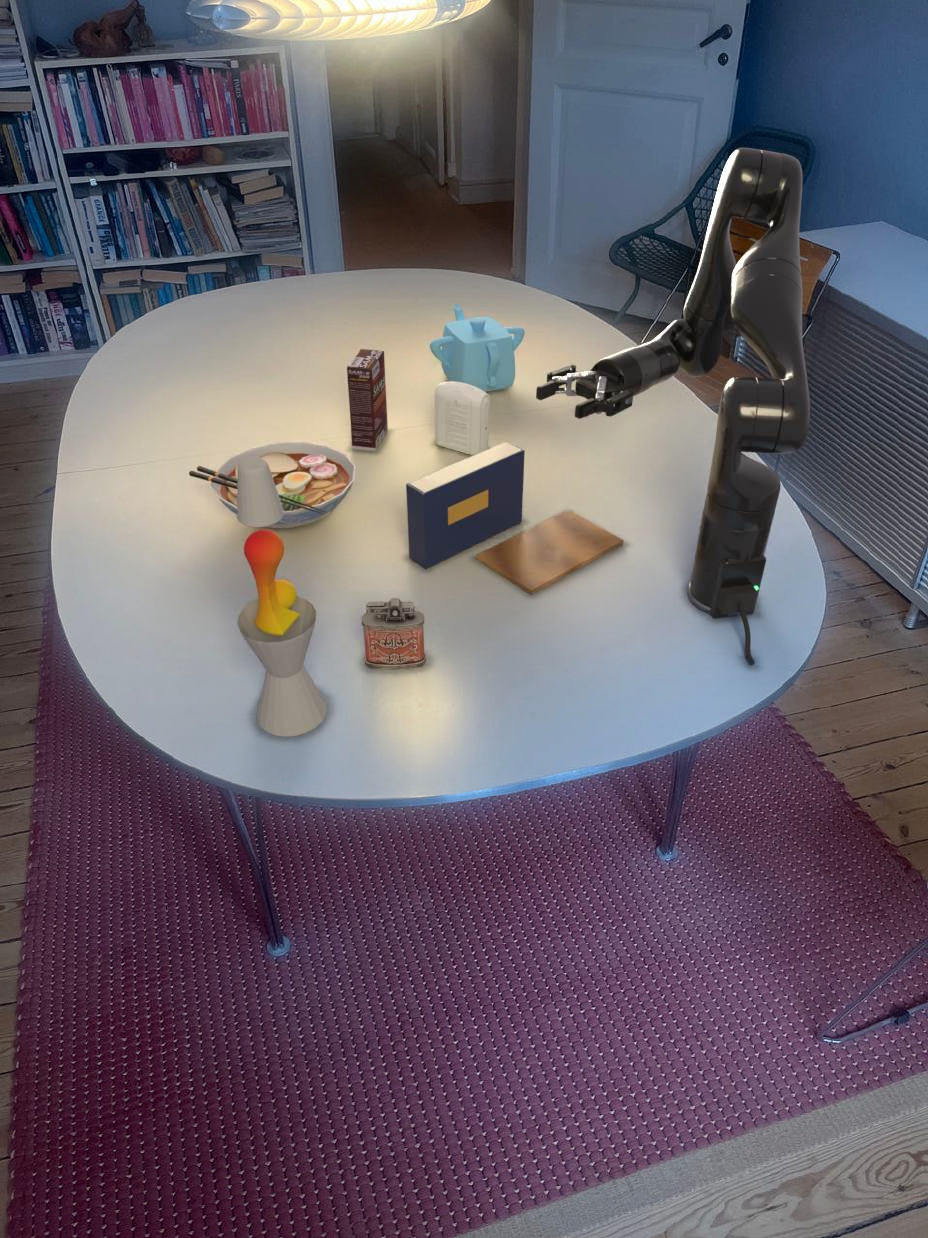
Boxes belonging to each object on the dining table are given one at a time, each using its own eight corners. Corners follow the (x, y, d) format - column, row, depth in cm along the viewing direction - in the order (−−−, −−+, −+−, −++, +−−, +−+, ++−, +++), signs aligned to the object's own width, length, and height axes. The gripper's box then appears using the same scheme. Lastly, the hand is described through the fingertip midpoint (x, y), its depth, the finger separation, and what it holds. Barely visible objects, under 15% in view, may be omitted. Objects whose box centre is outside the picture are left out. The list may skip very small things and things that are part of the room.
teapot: (532, 377, 197) (534, 313, 189) (495, 408, 186) (496, 341, 178) (455, 360, 204) (455, 298, 196) (415, 388, 193) (413, 323, 185)
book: (504, 512, 156) (506, 440, 148) (522, 522, 153) (525, 449, 145) (408, 558, 145) (405, 483, 137) (425, 569, 143) (423, 494, 135)
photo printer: (492, 449, 173) (493, 385, 165) (481, 459, 170) (481, 394, 162) (443, 436, 177) (442, 373, 169) (431, 445, 174) (430, 382, 166)
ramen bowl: (392, 502, 158) (389, 459, 153) (306, 571, 143) (300, 525, 138) (274, 465, 168) (268, 423, 163) (183, 526, 153) (173, 481, 148)
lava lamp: (306, 745, 114) (268, 492, 92) (241, 726, 117) (189, 475, 95) (340, 698, 121) (312, 450, 99) (278, 680, 123) (238, 436, 102)
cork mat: (567, 513, 155) (568, 509, 155) (623, 544, 148) (623, 540, 148) (476, 559, 145) (476, 555, 145) (531, 594, 138) (531, 590, 137)
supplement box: (377, 452, 172) (371, 369, 162) (351, 450, 173) (344, 367, 163) (389, 431, 178) (385, 349, 169) (364, 428, 179) (359, 347, 169)
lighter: (425, 653, 128) (423, 593, 121) (425, 669, 125) (423, 609, 119) (365, 654, 127) (360, 594, 121) (364, 671, 125) (359, 610, 119)
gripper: (596, 339, 158) (526, 366, 150) (662, 365, 150) (592, 395, 142) (592, 381, 163) (524, 409, 155) (657, 409, 155) (588, 441, 146)
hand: (557, 403), depth 148 cm, fingers open, 8 cm apart
